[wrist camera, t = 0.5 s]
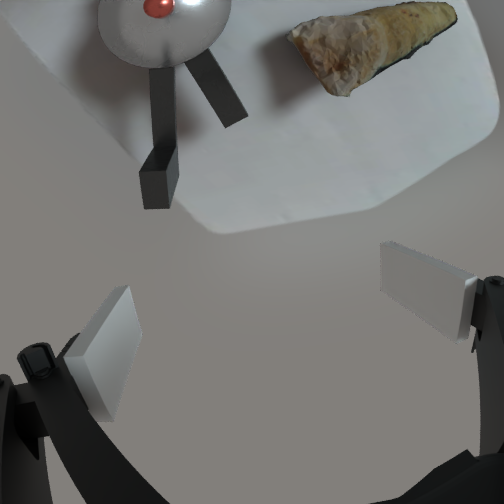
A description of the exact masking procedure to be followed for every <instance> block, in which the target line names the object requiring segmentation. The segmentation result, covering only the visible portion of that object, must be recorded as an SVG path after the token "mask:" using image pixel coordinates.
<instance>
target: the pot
mask: <svg viewBox="0 0 504 504" xmlns="http://www.w3.org/2000/svg"><path fill="white" fill-rule="evenodd" d="M184 63H185V65H186V66H187V68H188V70H189V71H190V73H191V74H192V76H193V77H194V79H195V81H196V82H197V84H198V85H199V87H200V88H201V90H202V92H203V93H204V95H205V96H206V98H207V100H208V101H209V103H210V104H211V106H212V108H213V109H214V111H215V113H216V114H217V116H218V117H219V119H220V121H221V122H222V124H223V126H224V127H225V128H227V127H229V126H230V125H232V124H234V123H236V122H238V121H240V120H242V119H244V118H246V117H248V113H247V111H246V110H245V108H244V106H243V104H242V103H241V101H240V99H239V97H238V96H237V94H236V92H235V91H234V89H233V87H232V85H231V84H230V82H229V80H228V79H227V77H226V75H225V74H224V72H223V70H222V69H221V67H220V66H219V64H218V62H217V61H216V59H215V57H214V56H213V54H212V53H211V51H210V49H209V48H207V49H206V50H205V51H204V52H202V53H201V54H199V55H197V56H196V57H194V58H192V59H190V60H188V61H185V62H184Z"/></svg>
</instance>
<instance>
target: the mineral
mask: <svg viewBox="0 0 504 504" xmlns="http://www.w3.org/2000/svg"><path fill="white" fill-rule="evenodd" d="M457 19H458V18H457V15H456V12H455V10H454V8H453V7H452V6H450V5H449V4H447V3H446V2H415V1H412V2H407V3H405V2H402V3H401V4H396V5H395V6H386V7H377V8H374V9H370V10H366V11H362V12H358V13H355V14H353V15H350V16H328V17H324V16H320V17H318V18H316V19H312V20H310V21H307V22H302V23H300V24H299V25H297V26H296V27H295V29H293V30H291V31H290V34H286V37H287V38H288V39H287V41H291V42H292V43H293V44H294V45H295V47H296V48H297V50H298V51H299V53H300V54H301V56H302V58H303V60H304V61H305V63H306V65H307V67H308V68H309V69H310V70H311V72H312V73H313V74H314V75H315V76H316V78H317V79H318V80H319V82H320V83H321V84H322V85H323V87H324V88H325V90H326V91H327V92H328V93H329V94H331V95H335V96H345V97H350V94H351V91H352V90H353V89H355V88H357V87H358V86H360V85H362V84H364V83H366V82H367V81H369V80H371V79H372V78H374V77H375V76H376V75H378V74H379V73H381V72H382V71H384V70H385V69H387V68H389V67H390V66H392V65H394V64H396V63H398V62H399V61H401V60H403V59H409V58H411V56H412V55H413V54H414V53H415V52H416V51H417V50H418V49H419V48H421V47H422V46H425V45H428V44H429V43H430V42H431V41H432V39H433V38H434V37H436V36H438V35H439V34H441V33H442V32H444V31H446V30H447V29H449V28H450V27H452V26H453V25H454V24H455V23H456V22H457Z"/></svg>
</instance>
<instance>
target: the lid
mask: <svg viewBox="0 0 504 504" xmlns="http://www.w3.org/2000/svg"><path fill="white" fill-rule="evenodd" d="M230 10H231V0H100V3H99V7H98V15H97V21H98V28H99V32H100V35H101V38H102V40H103V41H104V43H105V45H106V46H107V47H108V49H109V50H110V51H111V52H112V53H113V54H114V55H115V56H117V57H118V58H120V59H121V60H123V61H125V62H127V63H130V64H133V65H135V66H140V67H147V68H155V69H149V74H150V100H151V118H152V132H153V145H154V148H153V149H152V151H151V153H150V154H149V156H148V157H147V159H146V161H145V163H144V164H143V166H142V168H141V170H140V171H139V177H140V185H141V191H142V199H143V205H144V209H169V208H170V206H171V202H172V199H173V195H174V192H175V188H176V185H177V181H178V178H179V164H178V147H177V126H176V96H175V67H169V66H173V65H177V64H180V63H183V62H185V61H188V60H190V59H192V58H194V57H196V56H197V55H199V54H201V53H202V52H204V51H205V50H206V49H207V48H208V47H210V46H211V45H212V44H213V43H214V42H215V41H216V39H217V38H218V37H219V36H220V34H221V33H222V31H223V29H224V28H225V26H226V23H227V21H228V18H229V15H230ZM162 67H166V68H162Z"/></svg>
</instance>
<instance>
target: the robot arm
mask: <svg viewBox="0 0 504 504" xmlns="http://www.w3.org/2000/svg"><path fill="white" fill-rule="evenodd" d="M380 256H381V287H380V291H382V292H384V293H385V294H387V295H388V296H390V297H391V298H392V299H394V300H395V301H396V302H398V303H399V304H401V305H402V306H404V307H405V308H407V309H408V310H409V311H411V312H412V313H414V314H415V315H416V316H418V317H419V318H421V319H422V320H424V321H425V322H426V323H428V324H429V325H431V326H432V327H433V328H435V329H436V330H438V331H439V332H440V333H442V334H443V335H444V336H446V337H447V338H449V339H450V340H452V341H453V342H454V343H455V344H457V343H459V342H461V341H463V340H465V339H468V336H469V331H470V326H471V325H472V326H474V327H476V334H475V337H474V342H473V347H472V351H471V352H472V353H473V352H474V350H475V349H476V352H477V361H478V371H479V386H480V410H481V411H480V412H481V430H480V431H481V432H480V455H479V456H477V457H474V456H473V455H472V454H471V453H470V452H469V451H468V450H465V451H463V452H462V453H460V454H458V455H457V456H455V457H454V458H452V459H450V460H449V461H447V462H445V463H443V464H442V465H440V466H438V467H436V468H434V469H433V470H432V471H431V472H430V473H429V474H428V475H427V476H425V477H424V478H423V479H422V480H421V481H420V482H418V483H417V484H416V485H415V486H413V487H412V488H411V489H410V490H408V491H407V492H406V493H404V494H403V495H402V496H400V497H398V498H395V499H392V500H386V501H382V502H376V503H371V504H504V278H503V277H501V276H490V277H486V278H485V279H484V281H483V280H480V279H478V276H476V275H474V274H472V273H470V272H467V271H465V270H463V269H460V268H458V267H455V266H453V265H451V264H448V263H446V262H443V261H441V260H439V259H436V258H434V257H431V256H429V255H426V254H424V253H421V252H419V251H416V250H414V249H411V248H408V247H406V246H403V245H401V244H398V243H396V242H393V241H389V242H384V243H380ZM142 335H143V334H142V330H141V327H140V324H139V320H138V317H137V313H136V310H135V306H134V302H133V298H132V295H131V291H130V287H129V285H125V286H119V287H115V288H114V289H113V290H112V292H111V293H110V294H109V296H108V297H107V298H106V299H105V301H104V302H103V303H102V305H101V306H100V307H99V309H98V310H97V311H96V313H95V314H94V315H93V317H92V318H91V319H90V321H89V322H88V323H87V325H86V326H85V327H84V329H83V330H82V331H81V333H78V334H77V335H75V336H74V337H72V338H71V339H70V340H69V341H68V343H67V344H66V345H65V347H64V348H63V349H62V352H60V354H59V355H58V356H57V358H55V356H54V353H53V351H52V348H51V346H50V345H49V344H48V343H44V342H42V343H36V344H33V345H30V346H28V347H26V348H24V349H23V350H22V351H20V353H19V354H18V356H17V360H18V362H19V364H20V366H21V368H22V370H23V372H24V374H25V376H26V378H27V380H28V383H24V384H19V385H14V384H13V382H12V380H11V378H10V376H8V375H6V374H1V375H0V504H53V502H52V497H51V491H50V485H49V480H48V472H47V465H46V457H45V447H44V437H46V436H50V438H51V440H52V442H53V444H54V446H55V448H56V451H57V453H58V455H59V457H60V459H61V460H62V462H63V464H64V466H65V468H66V470H67V472H68V473H69V475H70V477H71V479H72V480H73V482H74V484H75V486H76V487H77V489H78V490H79V492H80V494H81V495H82V497H83V498H84V500H85V502H86V503H87V504H170V503H169V502H167V501H166V500H165V499H164V498H163V497H162V496H161V495H160V494H159V493H158V492H157V491H156V490H155V489H154V488H153V487H152V486H151V485H150V484H149V483H148V482H147V481H146V480H145V479H144V478H143V477H142V476H141V475H140V474H139V472H138V471H136V469H135V468H134V467H133V466H132V465H131V464H130V463H129V461H128V460H127V459H126V458H125V457H124V456H123V455H122V453H121V452H120V451H119V450H118V449H117V447H116V446H115V445H114V444H113V443H112V441H111V440H110V439H109V438H108V436H107V435H106V434H105V433H104V431H103V430H102V429H101V427H100V426H99V425H98V423H97V422H109V421H110V422H113V421H114V419H115V415H116V412H117V409H118V406H119V403H120V399H121V396H122V393H123V390H124V387H125V384H126V381H127V378H128V375H129V372H130V369H131V366H132V363H133V360H134V357H135V355H136V352H137V349H138V346H139V343H140V340H141V338H142ZM88 410H89V411H88ZM89 412H90V413H89Z"/></svg>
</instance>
